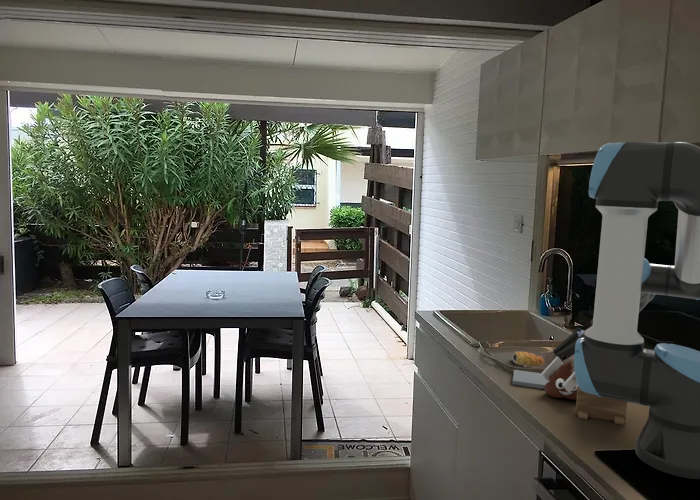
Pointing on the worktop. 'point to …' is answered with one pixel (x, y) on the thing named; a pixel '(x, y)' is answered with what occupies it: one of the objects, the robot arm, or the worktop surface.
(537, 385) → the board
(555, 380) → the poop emoji
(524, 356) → the pastry
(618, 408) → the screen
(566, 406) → the worktop surface
